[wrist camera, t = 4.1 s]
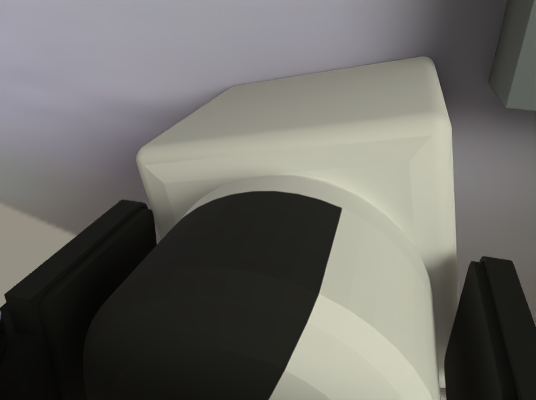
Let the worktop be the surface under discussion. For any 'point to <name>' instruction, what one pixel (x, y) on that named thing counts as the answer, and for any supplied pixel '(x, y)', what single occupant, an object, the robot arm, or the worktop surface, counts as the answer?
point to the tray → (516, 57)
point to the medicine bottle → (292, 247)
